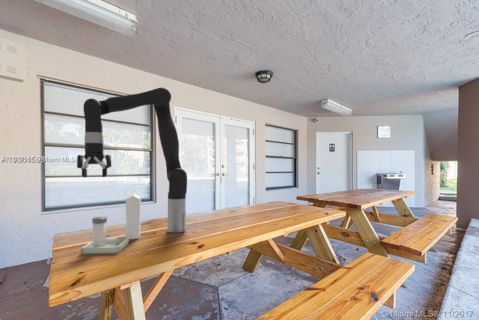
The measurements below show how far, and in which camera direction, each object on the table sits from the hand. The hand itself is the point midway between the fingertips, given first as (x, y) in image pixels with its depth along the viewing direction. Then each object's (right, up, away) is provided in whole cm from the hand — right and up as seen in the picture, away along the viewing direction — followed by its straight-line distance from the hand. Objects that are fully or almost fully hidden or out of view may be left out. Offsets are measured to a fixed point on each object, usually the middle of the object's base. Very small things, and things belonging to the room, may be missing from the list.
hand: (94, 177), depth 114 cm
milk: (+17, -30, +3) cm, 34 cm away
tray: (+12, -29, -12) cm, 34 cm away
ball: (+16, -27, -9) cm, 33 cm away
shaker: (+10, -29, -14) cm, 33 cm away
